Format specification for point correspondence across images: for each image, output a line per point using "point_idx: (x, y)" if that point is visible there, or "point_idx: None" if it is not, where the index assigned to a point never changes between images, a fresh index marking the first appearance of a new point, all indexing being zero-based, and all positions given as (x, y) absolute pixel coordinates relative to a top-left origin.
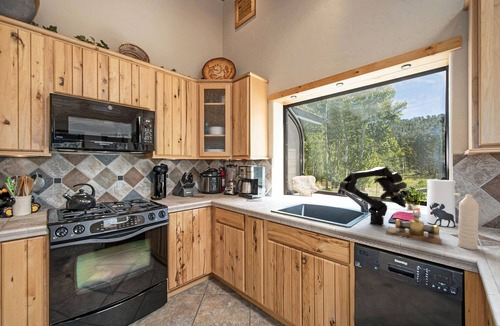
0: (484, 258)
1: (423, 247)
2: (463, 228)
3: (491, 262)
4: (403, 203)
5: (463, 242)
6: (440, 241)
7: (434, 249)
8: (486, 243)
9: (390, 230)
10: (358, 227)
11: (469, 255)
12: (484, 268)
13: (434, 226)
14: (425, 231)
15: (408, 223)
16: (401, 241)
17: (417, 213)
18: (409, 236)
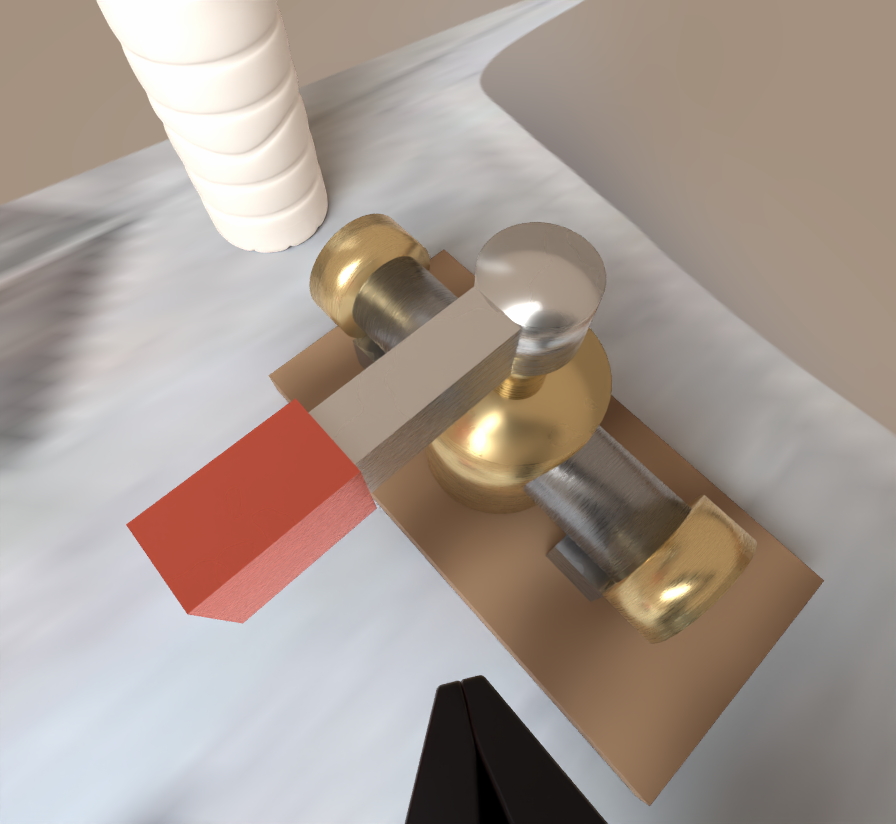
0: (385, 88)
1: (646, 246)
2: (287, 43)
3: (407, 56)
4: (504, 763)
5: (317, 167)
6: (444, 250)
7: (588, 210)
8: (8, 241)
9: (744, 598)
10: None
11: (432, 122)
12: (530, 25)
13: (403, 240)
14: None
15: (602, 435)
16: (753, 367)
17: (571, 239)
18: (620, 410)
